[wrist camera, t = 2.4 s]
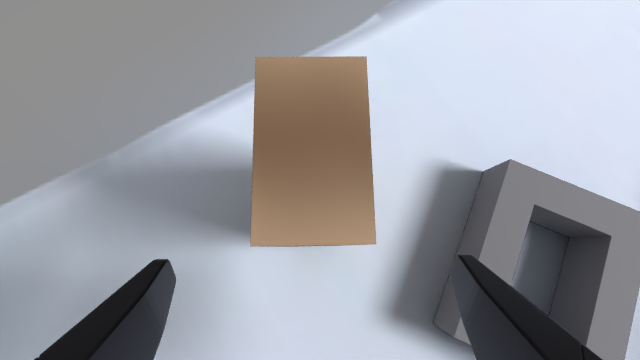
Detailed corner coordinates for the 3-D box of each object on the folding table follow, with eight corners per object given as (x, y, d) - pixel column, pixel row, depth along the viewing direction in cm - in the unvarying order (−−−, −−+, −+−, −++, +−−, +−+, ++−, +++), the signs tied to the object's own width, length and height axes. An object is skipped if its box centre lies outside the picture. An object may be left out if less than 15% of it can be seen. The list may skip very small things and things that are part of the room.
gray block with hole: (567, 384, 19) (613, 409, 16) (432, 323, 19) (454, 337, 16) (606, 221, 21) (653, 217, 18) (483, 171, 21) (510, 159, 19)
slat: (337, 245, 20) (375, 244, 8) (290, 246, 20) (250, 246, 8) (335, 169, 21) (366, 56, 9) (290, 170, 21) (255, 57, 9)
